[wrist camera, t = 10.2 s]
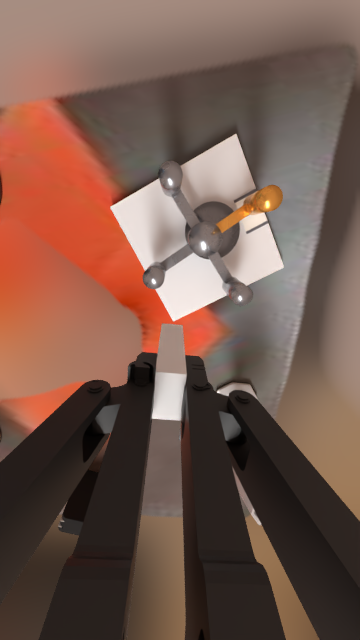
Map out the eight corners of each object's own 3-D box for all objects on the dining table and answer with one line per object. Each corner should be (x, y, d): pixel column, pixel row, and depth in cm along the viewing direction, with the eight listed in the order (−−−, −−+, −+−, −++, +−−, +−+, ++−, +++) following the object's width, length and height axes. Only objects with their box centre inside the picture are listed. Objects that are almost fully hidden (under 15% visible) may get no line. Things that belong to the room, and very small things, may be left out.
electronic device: (118, 491, 57) (107, 542, 48) (76, 480, 56) (56, 530, 46) (123, 479, 56) (113, 528, 47) (80, 467, 55) (61, 516, 45)
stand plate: (112, 208, 37) (109, 206, 35) (233, 137, 34) (236, 132, 33) (173, 318, 43) (173, 321, 42) (280, 266, 41) (284, 267, 39)
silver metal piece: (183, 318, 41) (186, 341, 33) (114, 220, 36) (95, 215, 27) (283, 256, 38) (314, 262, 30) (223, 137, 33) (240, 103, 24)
